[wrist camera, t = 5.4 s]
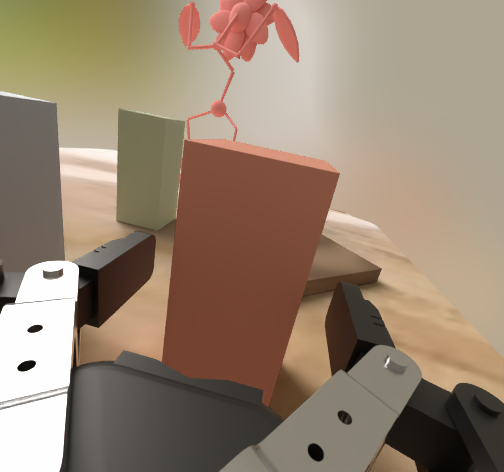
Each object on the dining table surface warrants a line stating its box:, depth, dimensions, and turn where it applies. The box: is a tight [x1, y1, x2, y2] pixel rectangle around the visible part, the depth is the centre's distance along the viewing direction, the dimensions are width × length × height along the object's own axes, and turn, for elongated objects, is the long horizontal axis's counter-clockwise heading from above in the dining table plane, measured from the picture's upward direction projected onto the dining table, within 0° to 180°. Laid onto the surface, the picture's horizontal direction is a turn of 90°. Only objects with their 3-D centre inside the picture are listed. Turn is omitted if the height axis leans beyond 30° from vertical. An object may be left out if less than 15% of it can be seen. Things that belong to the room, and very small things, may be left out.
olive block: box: [116, 109, 185, 231], centre depth 32 cm, size 5×5×12 cm
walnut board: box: [303, 234, 382, 296], centre depth 32 cm, size 16×14×2 cm
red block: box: [162, 139, 340, 407], centre depth 13 cm, size 5×5×12 cm
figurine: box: [179, 0, 299, 183], centre depth 51 cm, size 15×26×35 cm, turn 57°
